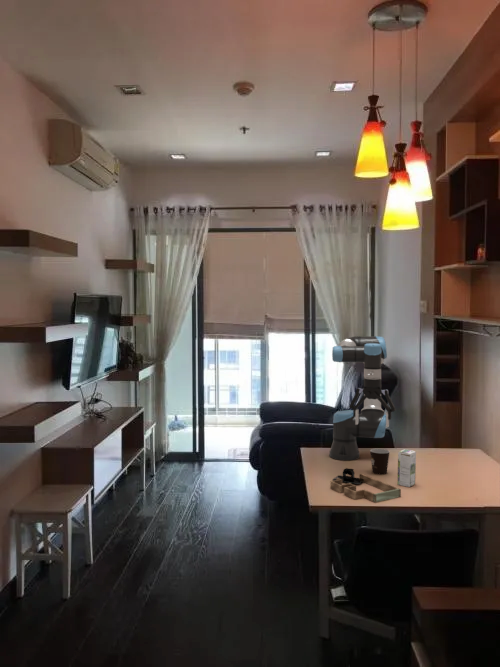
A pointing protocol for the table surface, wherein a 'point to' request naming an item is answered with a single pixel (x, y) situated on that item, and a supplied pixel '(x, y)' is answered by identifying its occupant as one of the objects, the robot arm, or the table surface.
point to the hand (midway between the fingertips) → (372, 425)
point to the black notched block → (349, 477)
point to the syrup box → (406, 468)
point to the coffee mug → (379, 460)
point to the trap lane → (352, 493)
